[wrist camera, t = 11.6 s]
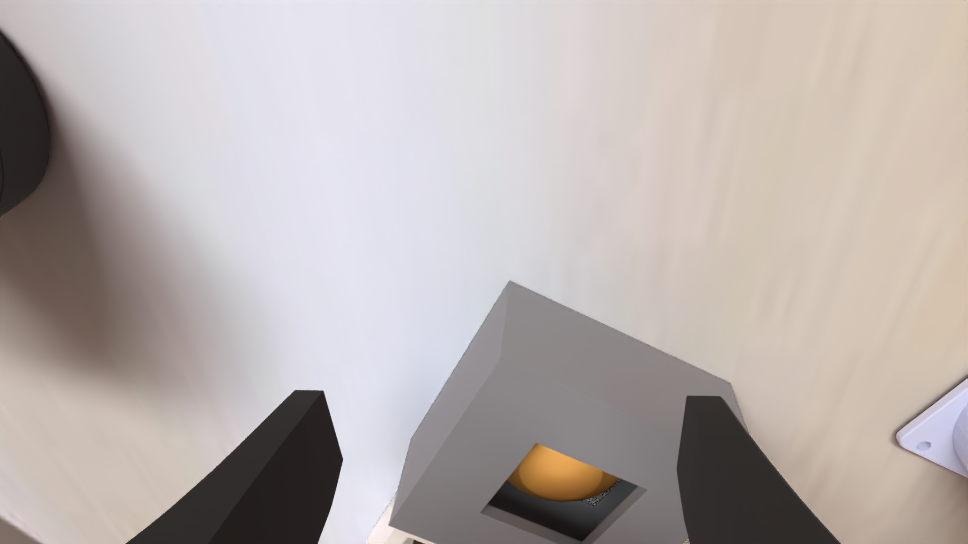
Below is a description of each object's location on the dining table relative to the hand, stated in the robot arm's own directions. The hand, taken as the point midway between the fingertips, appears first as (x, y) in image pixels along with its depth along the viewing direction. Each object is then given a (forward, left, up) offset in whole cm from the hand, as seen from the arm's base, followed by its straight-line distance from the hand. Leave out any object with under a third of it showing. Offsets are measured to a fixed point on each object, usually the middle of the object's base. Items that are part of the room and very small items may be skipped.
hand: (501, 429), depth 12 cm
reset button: (-6, +8, -9) cm, 13 cm away
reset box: (-6, +8, -10) cm, 14 cm away
